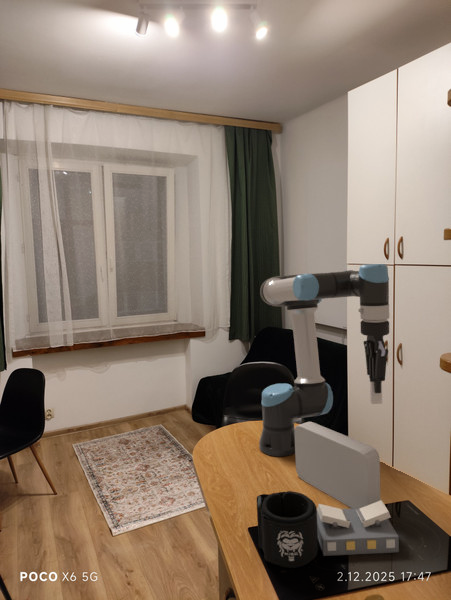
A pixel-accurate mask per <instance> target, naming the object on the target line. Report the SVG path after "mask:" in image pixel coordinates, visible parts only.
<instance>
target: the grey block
mask: <svg viewBox="0 0 451 600" xmlns="http://www.w3.org/2000/svg"><path fill="white" fill-rule="evenodd" d="M294 428H295V431H294V432H295V453H294V455H295V471H296V474H297V477H298V478H300V480H302V481H304V482H306V483H307V484H309V485H311V486H312V487H314V488H316V489H317V490H319V491H321V492H323V493H325V494H327V495H328V496H329V497H331V498H333V499H334V500H336V501H339V502H340V503H342V504H343V505H345V506H347V507H348V508H349V509H354V508H362V507H365V506H368V505H370V504H373V503H375V502H378V501H380V500H381V468H380V467H381V465H380V464H381V461H380V455H379V452H378V451H377V449H376V448H375V447H373V446H372V445H370V444H367V443H364V442H362V441H361V440H357V439H354V438H353V437H350V436H348V435H345V434H343V433H340V432H337V431H335V430H332V429H330V428H328V427H325V426H323V425H320V424H318V423H316V422H312V421H307V422H304V423H300V424H297V425H296V426H294Z"/></svg>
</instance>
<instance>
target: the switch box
mask: <svg viewBox="0 0 451 600" xmlns="http://www.w3.org/2000/svg"><path fill="white" fill-rule="evenodd" d="M343 509H344V510H345V511H346V513H347V515H348V518H349V520H350V525H349V528H347V527H343V526H339V525H338V526H337V527H334V526H333V524H330V523H326V522H322V521H321V519H320V516H319V513H318V511H317V531H318V544H319V546H320V549H321V551H322V555H323V556H324V557H327V556H328V557H329V556H345V555H346V556H348V555H367V554H368V555H369V554H386V553H387V554H390V553H399V552H400V547H399V546H400V543H399V540H400V539H399V535H398V533H397V532H396V530H395V529H394V527H393V524H392V523H391V522H390V520H389V518H388V519H385V520H383V521H380V524H379V525H376V524H372V525H370V526H367V527H365V528H364V526H363V524H362V522H361V520H360V518H359V516H358V514H357V511H356V510H357V509H360V508H354V509H352V508H343Z"/></svg>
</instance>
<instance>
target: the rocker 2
mask: <svg viewBox="0 0 451 600" xmlns="http://www.w3.org/2000/svg"><path fill="white" fill-rule="evenodd" d="M387 508H388V507H386V505H385V503H384V502H383V501H382V499H380V501H378V502H375V503H373V504H370V505H368V506H365V507H362V508H360V509H357V510H356V511H357V514H358V516H359V518H360V520H361V522H362V524H363V526H364V528H365V527H367V526H370V525H372V524H376V525H379V524H380V521H383V520H385V519H388V520H389V519H390V518H392V517H391V515H390V511H389V510H388V509H387Z"/></svg>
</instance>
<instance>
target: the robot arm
mask: <svg viewBox="0 0 451 600" xmlns="http://www.w3.org/2000/svg"><path fill="white" fill-rule="evenodd" d="M389 283H390V277H389V268H388V266H387V264H385V263H370V264H369V263H368V264H361V265H360V266H359V269H358V270H351V269H350V270H349V269H348V270H343V271H333V272H320V273H317V272H316V273H302V274H291V275H290V274H289V275H275V276H272V277H270V278H267V279H266V280H265V281H264V282H263V283H262V284H261V286H260V292H259V295H260V298H261V299H262V301H263V302H264V303H265V304H267V305H269V306H272V307H286V310H287V312H288V313H289V314H290V315H291V321H292V322H291V323H292V332H293V339H294V340H293V343H294V353H295V361H296V362H295V363H296V372H297V373H296V374H297V377H296V379H294V380H293V381H294V386H292V385H291V384H289V383H275V384H271V385H269V386H267V387H266V388H265V387H264V389H263V390H262V392H261V411H262V412H261V413H262V431H261V434H260V437H259V442H258V445H259V450H260V452H262V453H263V454H265V455H269V456H273V457H287V456H291V455H295V432H294V431H295V420H298V419H303V418H309V417H318V416H321V415H325V414H328V413H329V412H330V411H331V409H332V407H333V402H334V395H333V391H332V387H331V386H330V384H328V383H327V382H326V379H325V378H324V377H323V376H322V375H321V370H320V368H321V367H320V360H319V359H320V358H319V348H318V339H317V329H316V317H315V313H316V311H317V310H318V304H320V303H321V302H322V300H326V299H335V298H336V299H337V298H349V297H350V298H351V297H356V298H357V297H358V298H359V306H360V308H359V309H358V312H359V313H360V314H359V315H360V319H361V321H360V322H359V323H360V334H361V335H363V336H366V340H363V346H364V353H365V354H364V355H365V365H366V375H367V376H368V378H369V382H370V383H369V385H370V391H369V392H370V403H371V404H372V405H380V404H381V405H383V384H382V383H383V382H385V381H386V373H387V371H386V370H387V360H388V359H387V358H388V354H389V349H388V348H385V347H386V344H385V341H384V337H385V336H387V335H389V334H390V321H389V319H390V304H389V301H390V300H389V299H390V296H389V295H390V293H389V291H390V285H389Z"/></svg>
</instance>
